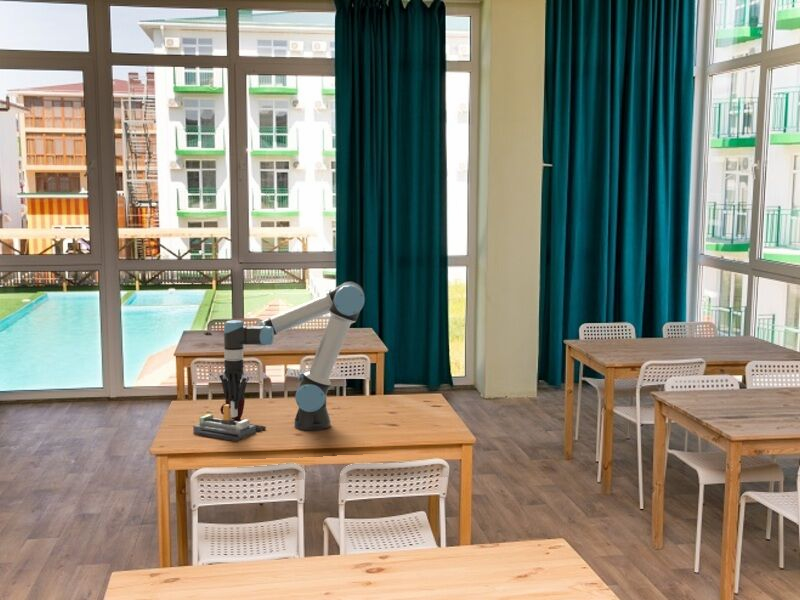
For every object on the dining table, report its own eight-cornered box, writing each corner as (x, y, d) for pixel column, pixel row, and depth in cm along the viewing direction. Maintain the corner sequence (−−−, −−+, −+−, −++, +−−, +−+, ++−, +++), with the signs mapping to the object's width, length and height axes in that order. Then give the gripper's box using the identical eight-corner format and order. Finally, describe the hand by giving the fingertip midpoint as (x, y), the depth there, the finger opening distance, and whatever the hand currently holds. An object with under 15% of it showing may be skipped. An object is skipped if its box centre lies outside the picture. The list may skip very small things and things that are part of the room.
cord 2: (266, 429, 363) (266, 425, 363) (264, 430, 362) (264, 426, 362) (216, 423, 372) (216, 419, 372) (214, 423, 371) (214, 420, 371)
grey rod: (262, 431, 361) (262, 426, 361) (260, 432, 359) (260, 427, 359) (215, 423, 371) (215, 419, 371) (212, 424, 369) (212, 420, 369)
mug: (226, 424, 371) (226, 401, 370) (217, 420, 377) (216, 397, 376) (248, 420, 378) (248, 397, 376) (238, 416, 384) (238, 394, 382)
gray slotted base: (255, 432, 358) (255, 418, 357) (238, 440, 347) (238, 425, 347) (211, 426, 367) (211, 412, 367) (193, 433, 357) (193, 418, 356)
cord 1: (239, 441, 346) (239, 436, 346) (236, 442, 345) (236, 437, 344) (199, 434, 355) (199, 429, 355) (196, 435, 354) (196, 430, 353)
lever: (234, 425, 357) (233, 404, 356) (229, 426, 354) (229, 406, 353) (226, 423, 358) (225, 403, 357) (221, 425, 356) (221, 405, 355)
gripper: (252, 359, 352) (253, 416, 355) (226, 356, 357) (226, 412, 360) (242, 362, 345) (242, 420, 348) (214, 359, 351) (215, 416, 354)
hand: (234, 416), depth 354 cm, fingers closed
